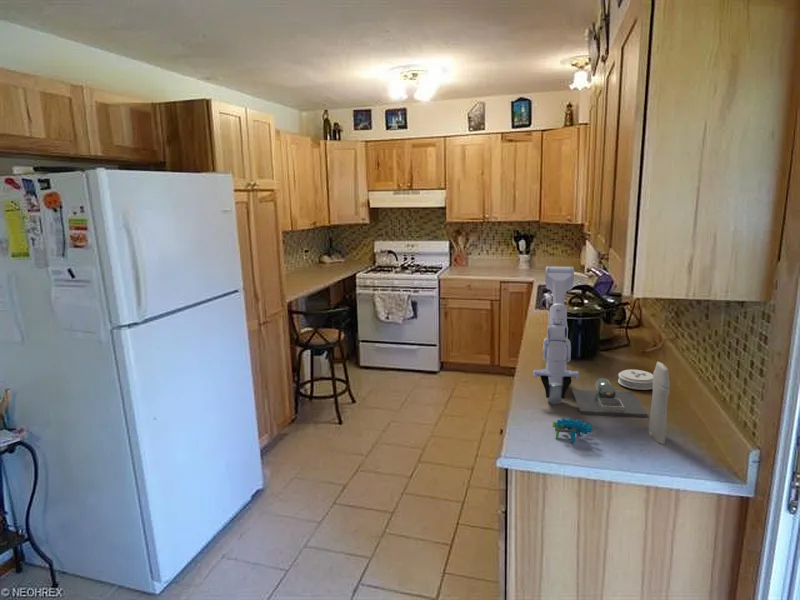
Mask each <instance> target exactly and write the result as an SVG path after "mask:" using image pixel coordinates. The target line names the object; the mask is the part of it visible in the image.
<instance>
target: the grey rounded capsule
mask: <svg viewBox="0 0 800 600" xmlns="http://www.w3.org/2000/svg"><path fill="white" fill-rule="evenodd" d="M548 392H549V398H547V402H548V403H549V404H552V405H561V404H562V403H563V402H562V401H563V399H562V384H560V383H549V388H548Z"/></svg>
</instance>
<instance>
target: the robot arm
mask: <svg viewBox="0 0 800 600" xmlns="http://www.w3.org/2000/svg"><path fill="white" fill-rule="evenodd" d="M544 273H545V274H544V275H545V278H544V279H545V280H544V281H545V287H546V289H547V290H549V291H551V294H552V305H551V306H550V307H549V312H548V313H549V314H548V315H549V316H548V326H547V328H546V329H547V330H546V337H545V338H544V340H543V344H542V359H543V361H545V368H544V369H543V368H542V369H533V375H532V376H533V377H534V378H537V377H540V379H541V382H542V385H543V387H544V391H545V398H547V399H548V398H549V392H548V388H549V383H560V384H562V400H563V399H565V396H566V393H567V391H568V388H569V387H570V385H571V383H572V379H576V380H578V379H579V378H580V375H579V374H580V373H579V371H577V370H575V371H574V370H569V369H567V364H568V363H569V362H570V361H571V358H572V357H571V354H572V353H571V351H572V346H571V345H572V344H571V343H572V342H571V340H570V339H569V338H568V335H569V333H568V332H569V327H568V321H567V320H568V308H567V307H566V305H565V297H566V294H567V292H568V291H570V290H572V289H573V287H574V281H575V280H574V279H575V268H574V266H572V265H571V266H548V265H547V266H546V267H545V272H544Z"/></svg>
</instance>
